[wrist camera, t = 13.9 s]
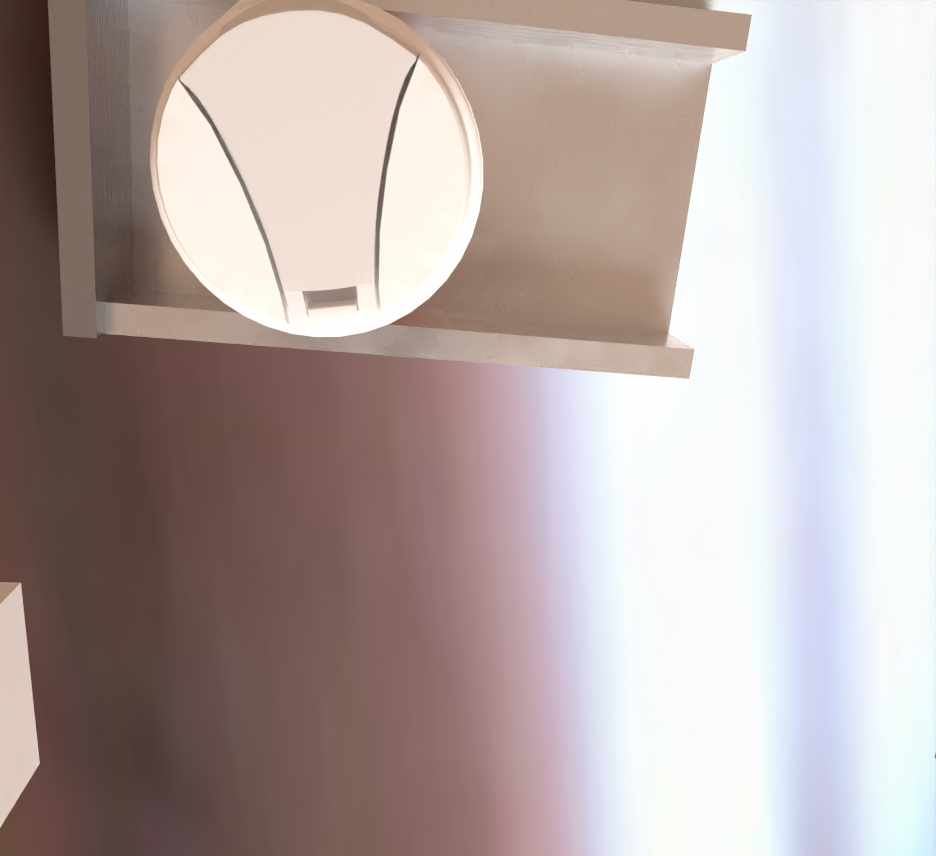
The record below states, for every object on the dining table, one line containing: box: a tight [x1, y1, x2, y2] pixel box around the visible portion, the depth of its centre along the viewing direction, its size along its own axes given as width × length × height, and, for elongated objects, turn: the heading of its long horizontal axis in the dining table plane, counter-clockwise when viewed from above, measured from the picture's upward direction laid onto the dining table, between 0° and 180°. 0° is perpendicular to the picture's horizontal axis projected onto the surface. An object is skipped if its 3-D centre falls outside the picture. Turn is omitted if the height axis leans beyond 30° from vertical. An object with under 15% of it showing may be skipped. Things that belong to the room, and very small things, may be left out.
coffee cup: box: [150, 0, 483, 337], centre depth 27 cm, size 8×8×15 cm
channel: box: [48, 0, 752, 378], centre depth 32 cm, size 24×13×5 cm, turn 85°
